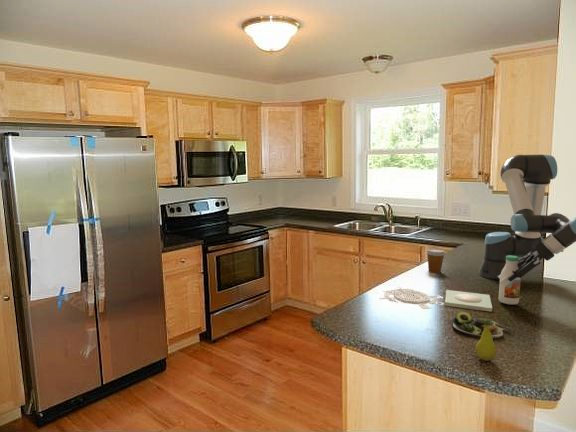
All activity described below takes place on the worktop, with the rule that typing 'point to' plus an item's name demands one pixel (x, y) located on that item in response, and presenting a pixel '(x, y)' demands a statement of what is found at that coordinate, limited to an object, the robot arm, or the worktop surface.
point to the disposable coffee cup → (435, 260)
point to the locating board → (468, 300)
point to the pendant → (412, 297)
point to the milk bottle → (511, 290)
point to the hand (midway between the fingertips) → (500, 281)
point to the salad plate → (476, 325)
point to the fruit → (486, 345)
